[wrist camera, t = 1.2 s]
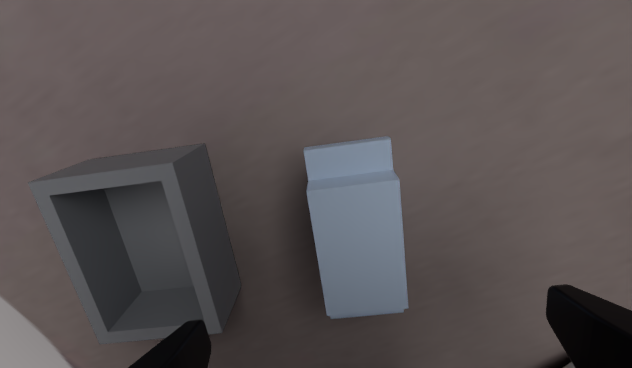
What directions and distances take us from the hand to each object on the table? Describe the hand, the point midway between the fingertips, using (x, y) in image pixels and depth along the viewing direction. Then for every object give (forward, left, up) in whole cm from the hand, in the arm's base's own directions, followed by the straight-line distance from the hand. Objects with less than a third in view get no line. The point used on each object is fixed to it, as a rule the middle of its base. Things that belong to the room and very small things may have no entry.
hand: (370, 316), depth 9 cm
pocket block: (0, +9, -7) cm, 12 cm away
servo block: (0, 0, -8) cm, 8 cm away
